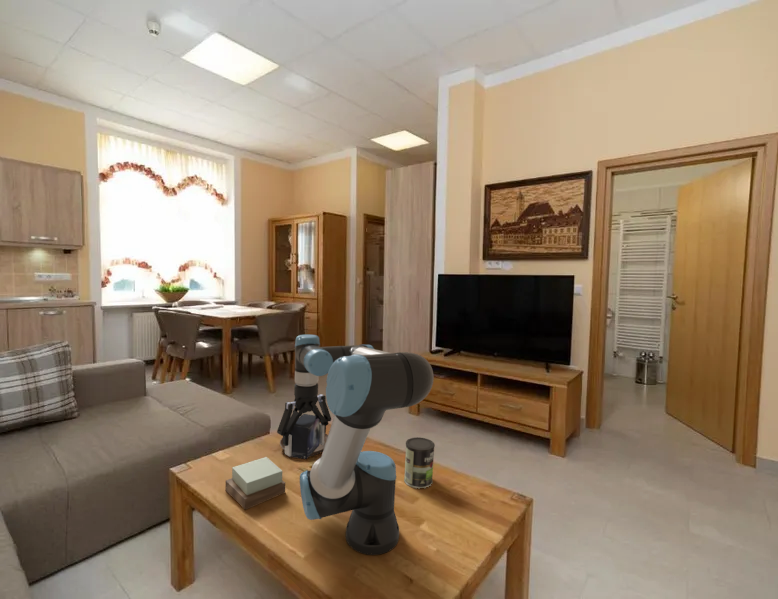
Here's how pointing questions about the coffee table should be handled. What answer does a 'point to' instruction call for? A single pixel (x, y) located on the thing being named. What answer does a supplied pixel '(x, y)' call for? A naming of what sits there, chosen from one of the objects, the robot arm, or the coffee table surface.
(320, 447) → the plant saucer
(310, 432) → the small box
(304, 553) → the coffee table surface
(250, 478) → the top slab
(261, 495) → the base slab
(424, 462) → the coffee can
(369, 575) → the coffee table surface
